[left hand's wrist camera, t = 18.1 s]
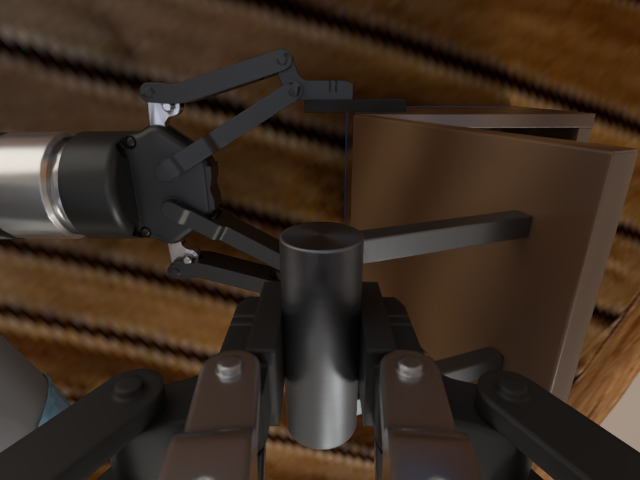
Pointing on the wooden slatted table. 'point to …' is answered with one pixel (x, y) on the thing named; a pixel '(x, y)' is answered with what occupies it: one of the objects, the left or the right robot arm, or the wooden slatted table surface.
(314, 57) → the wooden slatted table surface
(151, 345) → the wooden slatted table surface
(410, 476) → the left robot arm
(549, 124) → the chest
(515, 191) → the lid
